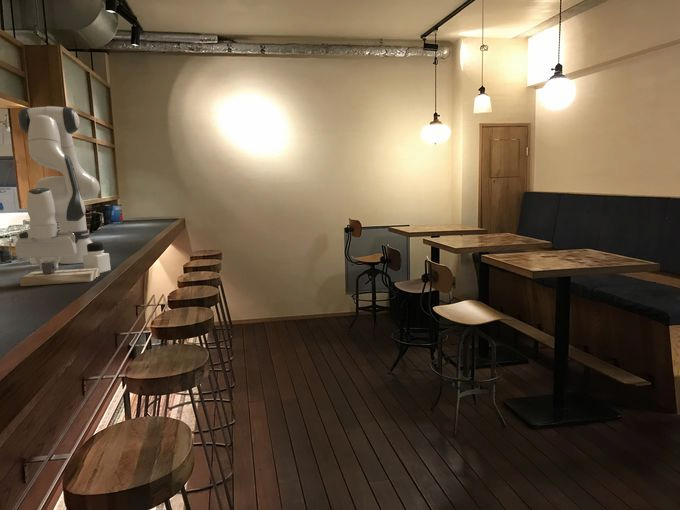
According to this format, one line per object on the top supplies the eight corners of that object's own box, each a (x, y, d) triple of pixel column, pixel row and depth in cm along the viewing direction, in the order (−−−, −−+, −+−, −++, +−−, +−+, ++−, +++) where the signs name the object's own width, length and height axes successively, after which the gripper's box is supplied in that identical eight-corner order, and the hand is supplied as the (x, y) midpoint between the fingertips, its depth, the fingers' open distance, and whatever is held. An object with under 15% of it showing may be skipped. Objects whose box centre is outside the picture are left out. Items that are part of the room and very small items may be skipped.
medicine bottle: (111, 270, 210) (108, 241, 208) (98, 273, 204) (95, 244, 201) (96, 269, 212) (93, 241, 210) (84, 273, 205) (80, 243, 203)
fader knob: (47, 271, 194) (46, 260, 193) (56, 270, 194) (55, 260, 194) (42, 273, 189) (41, 263, 188) (51, 273, 189) (50, 262, 189)
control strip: (34, 279, 197) (33, 271, 196) (100, 275, 201) (99, 267, 200) (20, 286, 185) (19, 277, 184) (90, 281, 189) (89, 273, 188)
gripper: (77, 229, 194) (81, 265, 196) (18, 232, 190) (24, 268, 193) (71, 231, 188) (76, 268, 190) (11, 234, 184) (16, 272, 187)
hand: (49, 268), depth 191 cm, fingers closed on fader knob, 3 cm apart
